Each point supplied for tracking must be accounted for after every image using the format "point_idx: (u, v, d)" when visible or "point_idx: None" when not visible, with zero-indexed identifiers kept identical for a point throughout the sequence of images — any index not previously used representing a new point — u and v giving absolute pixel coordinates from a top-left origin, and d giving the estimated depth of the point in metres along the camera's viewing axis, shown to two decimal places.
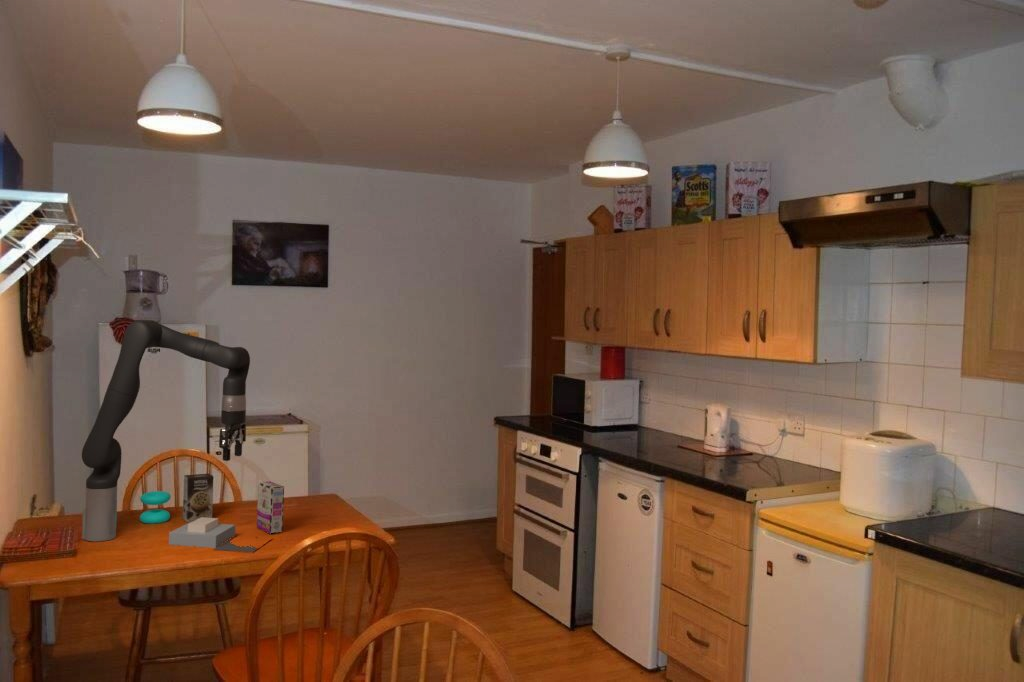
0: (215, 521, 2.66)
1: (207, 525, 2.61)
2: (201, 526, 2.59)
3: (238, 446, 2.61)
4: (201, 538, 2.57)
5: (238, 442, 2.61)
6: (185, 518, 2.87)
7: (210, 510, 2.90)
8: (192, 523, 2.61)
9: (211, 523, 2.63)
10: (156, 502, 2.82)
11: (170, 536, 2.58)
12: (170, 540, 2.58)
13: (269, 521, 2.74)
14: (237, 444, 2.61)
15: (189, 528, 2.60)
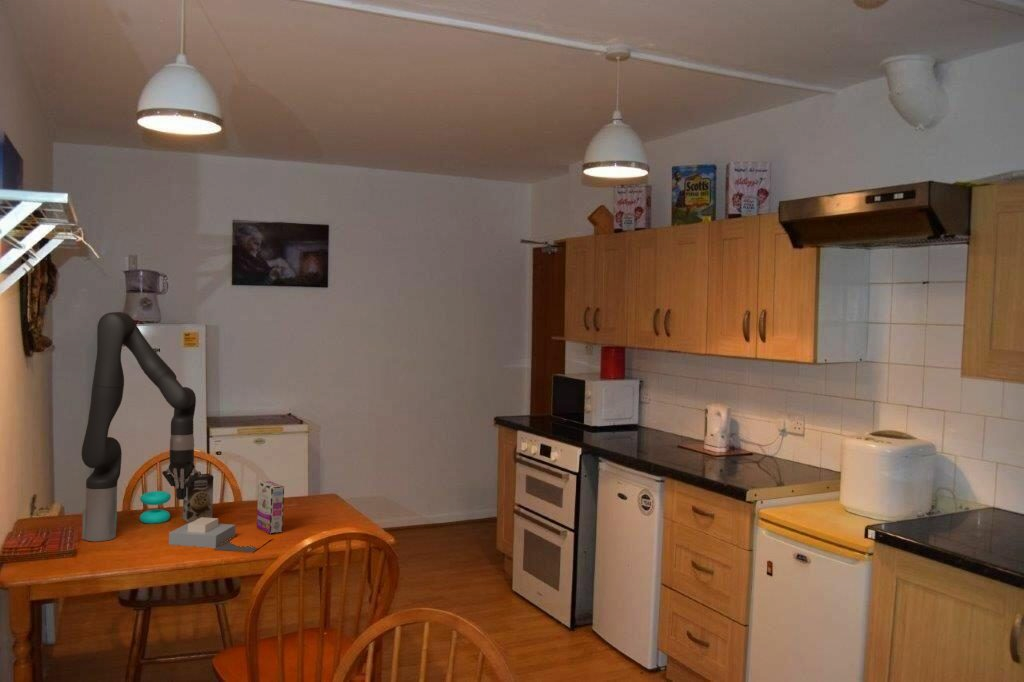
0: (215, 521, 2.66)
1: (207, 525, 2.61)
2: (201, 526, 2.59)
3: None
4: (201, 538, 2.57)
5: None
6: (185, 518, 2.87)
7: (210, 510, 2.90)
8: (192, 523, 2.61)
9: (211, 523, 2.63)
10: (156, 502, 2.82)
11: (170, 536, 2.58)
12: (170, 540, 2.58)
13: (269, 521, 2.74)
14: None
15: (189, 528, 2.60)
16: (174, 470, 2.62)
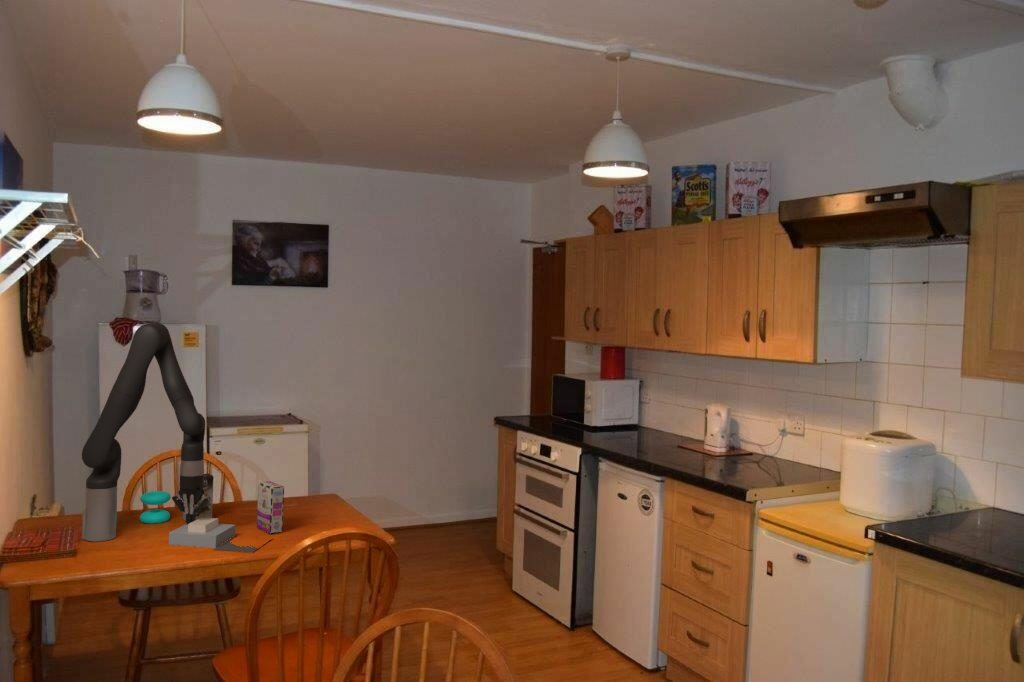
0: (215, 521, 2.66)
1: (207, 525, 2.61)
2: (201, 526, 2.59)
3: None
4: (201, 538, 2.57)
5: None
6: (185, 518, 2.87)
7: (210, 510, 2.90)
8: (192, 523, 2.61)
9: (211, 523, 2.63)
10: (156, 502, 2.82)
11: (170, 536, 2.58)
12: (170, 540, 2.58)
13: (269, 521, 2.74)
14: None
15: (189, 528, 2.60)
16: (184, 496, 2.62)
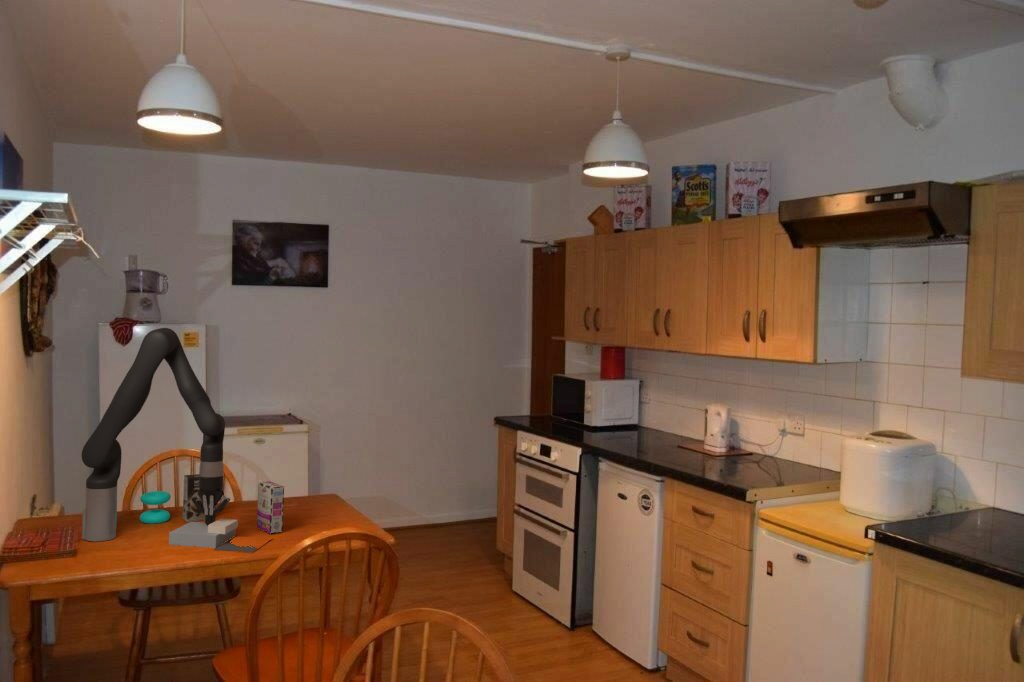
0: (235, 523, 2.65)
1: (227, 527, 2.60)
2: (221, 528, 2.59)
3: None
4: (201, 538, 2.57)
5: (209, 512, 2.64)
6: (185, 518, 2.87)
7: None
8: (212, 524, 2.60)
9: (231, 525, 2.63)
10: (156, 502, 2.82)
11: (170, 536, 2.58)
12: (170, 540, 2.58)
13: (269, 521, 2.74)
14: (209, 514, 2.63)
15: (209, 529, 2.59)
16: (204, 497, 2.62)
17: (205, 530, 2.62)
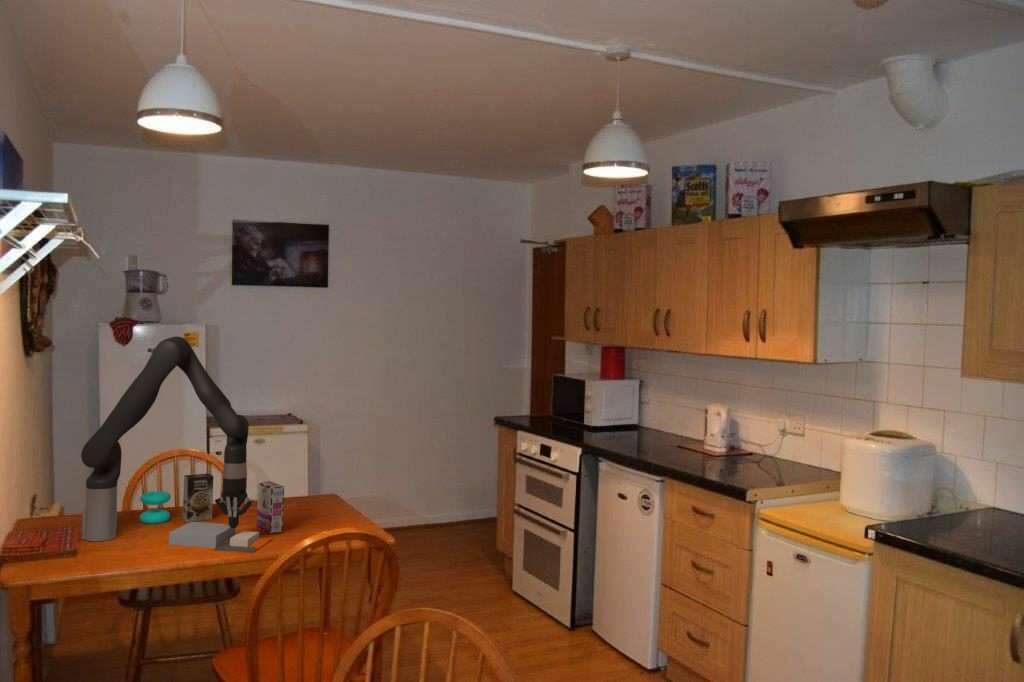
0: None
1: None
2: (233, 544, 2.58)
3: None
4: (201, 538, 2.57)
5: None
6: (185, 518, 2.87)
7: (210, 510, 2.90)
8: None
9: None
10: (156, 502, 2.82)
11: (170, 536, 2.58)
12: (170, 540, 2.58)
13: (269, 521, 2.74)
14: None
15: (245, 542, 2.58)
16: (227, 499, 2.61)
17: (205, 530, 2.62)
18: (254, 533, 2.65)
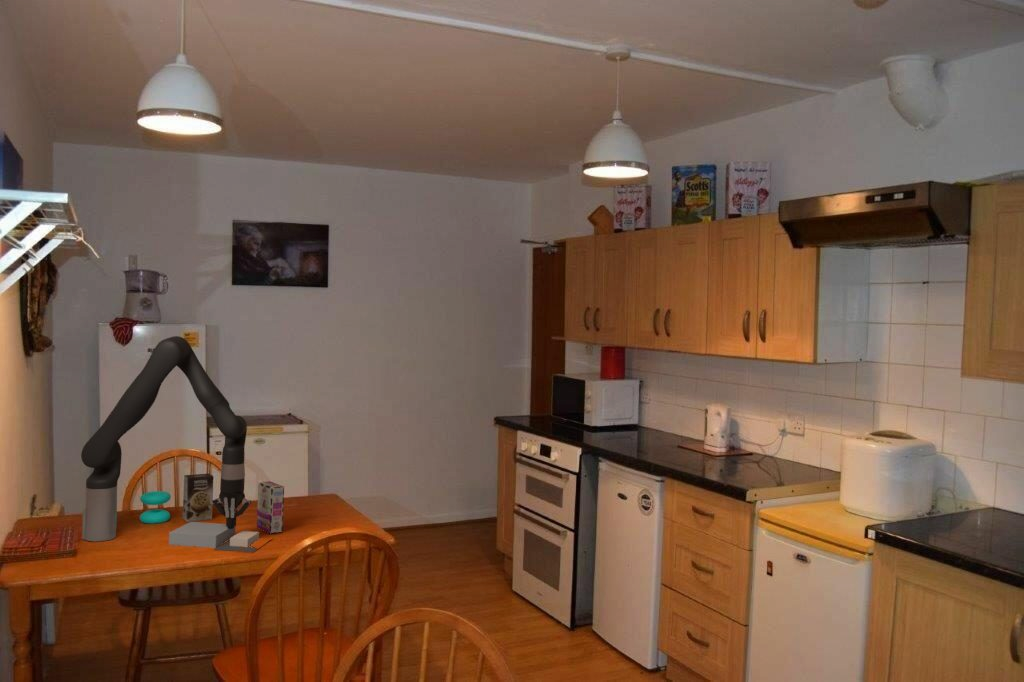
0: None
1: None
2: (233, 544, 2.58)
3: None
4: (201, 538, 2.57)
5: (230, 514, 2.63)
6: (185, 518, 2.87)
7: (210, 510, 2.90)
8: None
9: None
10: (156, 502, 2.82)
11: (170, 536, 2.58)
12: (170, 540, 2.58)
13: (269, 521, 2.74)
14: (230, 517, 2.63)
15: (245, 542, 2.58)
16: (225, 500, 2.61)
17: (205, 530, 2.62)
18: (254, 533, 2.65)
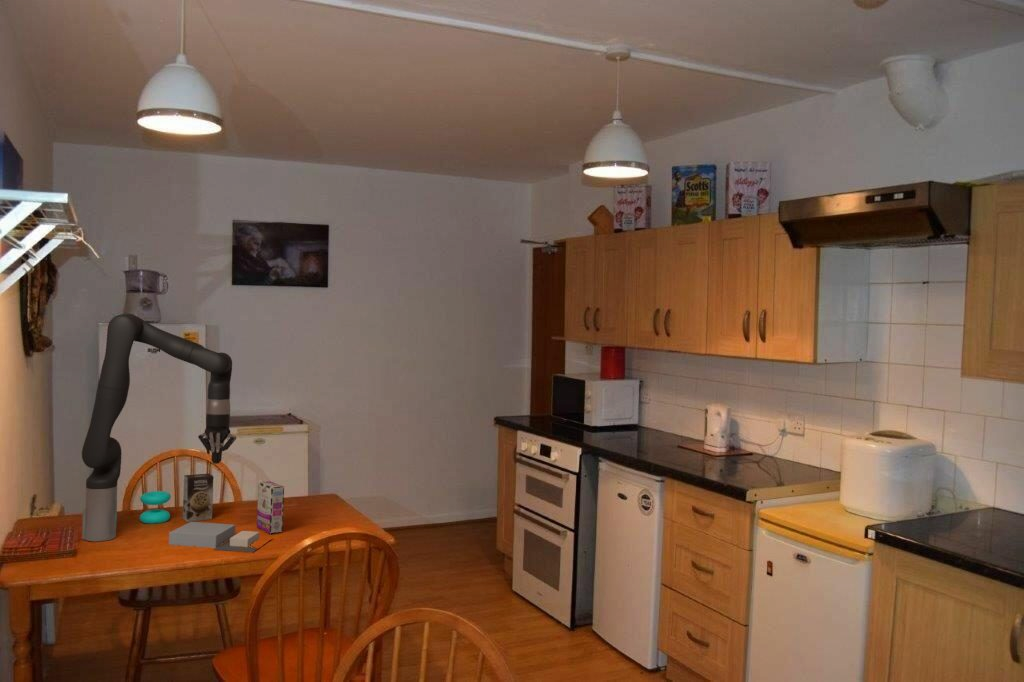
0: None
1: None
2: (233, 544, 2.58)
3: None
4: (201, 538, 2.57)
5: None
6: (185, 518, 2.87)
7: (210, 510, 2.90)
8: None
9: None
10: (156, 502, 2.82)
11: (170, 536, 2.58)
12: (170, 540, 2.58)
13: (269, 521, 2.74)
14: None
15: (245, 542, 2.58)
16: (210, 434, 2.65)
17: (205, 530, 2.62)
18: (254, 533, 2.65)
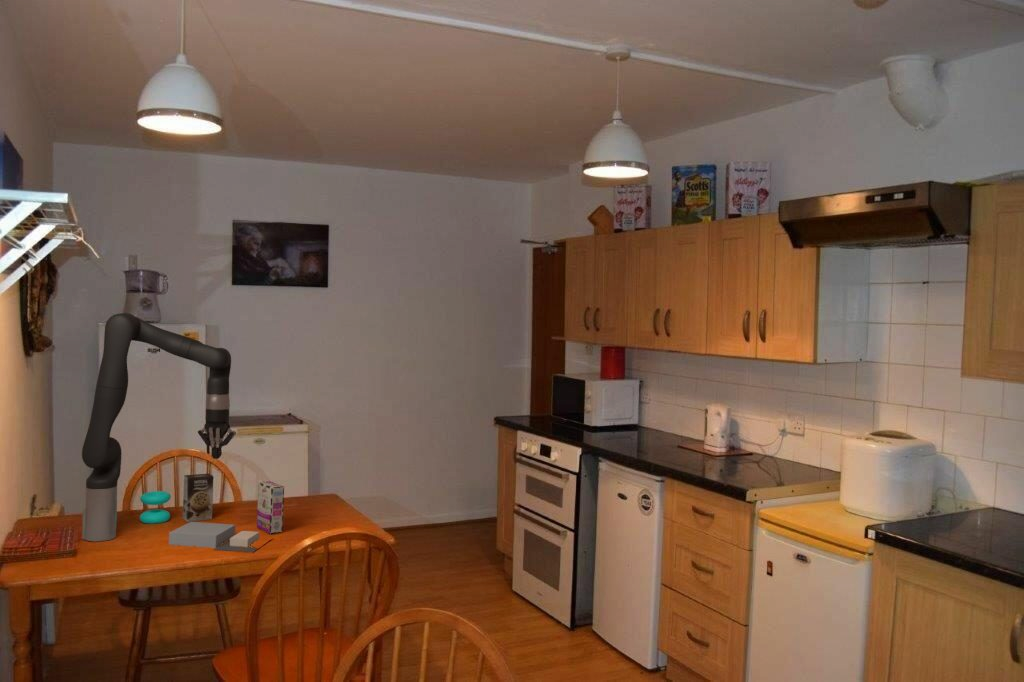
0: None
1: None
2: (233, 544, 2.58)
3: None
4: (201, 538, 2.57)
5: None
6: (185, 518, 2.87)
7: (210, 510, 2.90)
8: None
9: None
10: (156, 502, 2.82)
11: (170, 536, 2.58)
12: (170, 540, 2.58)
13: (269, 521, 2.74)
14: (215, 447, 2.67)
15: (245, 542, 2.58)
16: (210, 430, 2.65)
17: (205, 530, 2.62)
18: (254, 533, 2.65)
